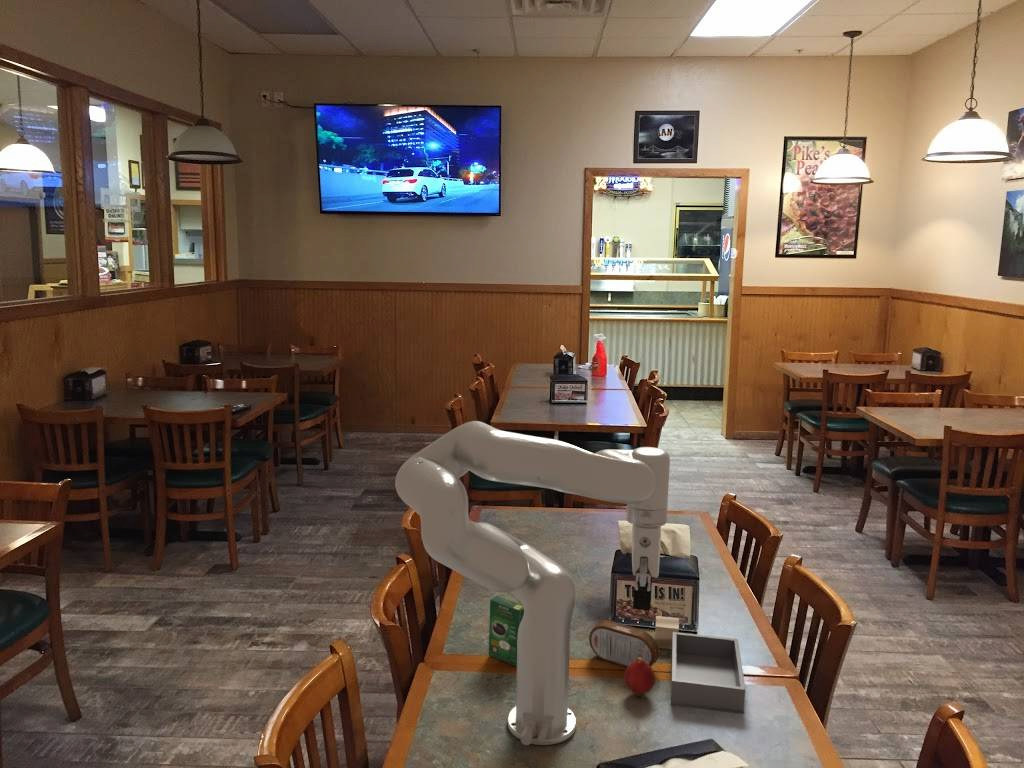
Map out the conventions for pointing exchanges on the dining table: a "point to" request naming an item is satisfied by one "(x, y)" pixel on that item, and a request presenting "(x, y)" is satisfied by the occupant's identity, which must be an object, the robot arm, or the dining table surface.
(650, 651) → the tin
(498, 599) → the coffee box
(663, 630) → the maple cube
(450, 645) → the dining table surface
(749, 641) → the dining table surface
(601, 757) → the dining table surface
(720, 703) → the tote
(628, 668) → the onion
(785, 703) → the dining table surface
